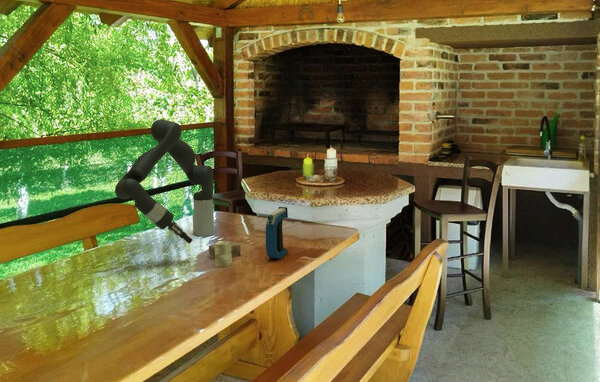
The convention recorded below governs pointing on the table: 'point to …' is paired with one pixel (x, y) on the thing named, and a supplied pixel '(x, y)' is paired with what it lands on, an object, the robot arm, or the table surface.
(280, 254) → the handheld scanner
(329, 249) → the table surface
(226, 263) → the beech block
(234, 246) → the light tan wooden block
